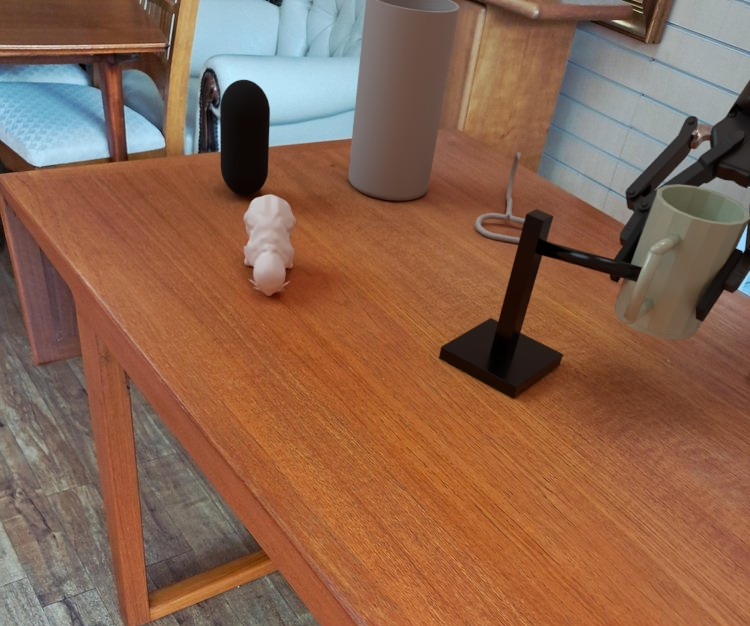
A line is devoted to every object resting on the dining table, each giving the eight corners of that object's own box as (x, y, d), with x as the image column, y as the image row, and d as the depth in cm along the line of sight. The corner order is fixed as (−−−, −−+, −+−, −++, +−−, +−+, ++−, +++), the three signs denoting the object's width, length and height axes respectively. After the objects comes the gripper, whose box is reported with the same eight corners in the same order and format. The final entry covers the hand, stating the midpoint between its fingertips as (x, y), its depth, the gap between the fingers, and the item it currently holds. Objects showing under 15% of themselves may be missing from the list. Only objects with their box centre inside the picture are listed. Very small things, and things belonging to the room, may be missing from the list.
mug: (636, 288, 86) (679, 177, 78) (709, 321, 82) (763, 209, 74) (577, 328, 78) (618, 209, 69) (656, 366, 74) (709, 246, 66)
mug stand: (438, 358, 88) (469, 208, 76) (488, 328, 94) (524, 186, 82) (575, 432, 80) (632, 279, 69) (619, 395, 87) (678, 249, 75)
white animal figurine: (297, 190, 95) (300, 244, 87) (293, 253, 101) (295, 309, 93) (244, 185, 94) (241, 239, 86) (243, 250, 100) (241, 305, 92)
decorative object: (259, 183, 117) (261, 73, 107) (273, 202, 113) (277, 88, 102) (215, 185, 114) (214, 72, 104) (228, 204, 110) (228, 88, 100)
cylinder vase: (331, 177, 122) (347, -11, 105) (389, 165, 129) (413, -14, 112) (386, 208, 116) (413, 14, 99) (443, 194, 123) (478, 9, 106)
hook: (538, 191, 127) (533, 262, 114) (480, 181, 127) (469, 250, 115) (550, 147, 121) (547, 217, 109) (490, 136, 122) (480, 204, 109)
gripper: (891, 154, 75) (756, 356, 76) (684, 86, 84) (566, 268, 85) (912, 103, 68) (763, 326, 69) (684, 35, 77) (555, 234, 78)
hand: (655, 294), depth 77 cm, fingers closed on mug, 9 cm apart
